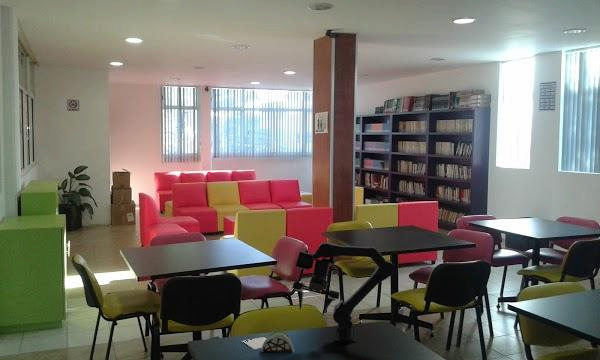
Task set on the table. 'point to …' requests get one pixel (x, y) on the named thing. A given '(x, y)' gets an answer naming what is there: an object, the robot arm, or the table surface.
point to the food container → (278, 343)
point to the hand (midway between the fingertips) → (311, 312)
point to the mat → (255, 343)
